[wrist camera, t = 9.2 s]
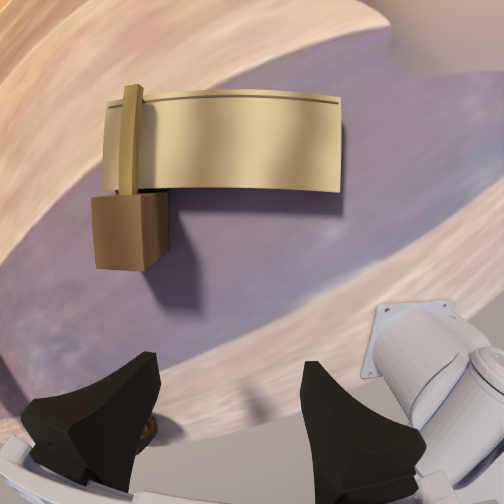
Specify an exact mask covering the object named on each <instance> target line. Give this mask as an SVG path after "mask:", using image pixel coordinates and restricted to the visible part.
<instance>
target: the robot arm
mask: <svg viewBox="0 0 504 504" xmlns="http://www.w3.org/2000/svg"><path fill="white" fill-rule="evenodd" d="M443 305H444V306H443ZM454 305H455V303H454V301H453V300H443V301H430V302H416V303H399V304H381V305H379V306H378V307H377V308H376V312H375V317H374V321H373V326H372V330H371V335H370V339H369V343H368V347H367V351H366V355H365V359H364V362H363V366H362V369H361V373H360V375H361V377H362V378H373V377H380V376H383V377H384V379H385V381H386V382H387V384H388V385H389V387H390V389H391V390H392V392H393V394H394V395H395V397H396V398H397V401H398V402H399V404H400V406H401V407H402V409H403V411H404V412H405V414H406V416H407V418H408V419H409V424H408V426H405V425H402V424H399V423H396V422H394V421H392V420H390V419H387V418H385V417H383V416H381V415H379V414H378V413H376V412H374V411H372V410H370V409H369V408H367V407H365V406H364V405H363V404H361V403H360V402H359V401H357V400H356V399H355V398H353V397H352V396H351V395H350V394H349V393H347V392H346V391H345V390H344V389H343V388H342V387H341V386H340V385H339V384H338V383H337V382H336V381H335V380H334V379H333V378H332V377H331V376H330V374H329V373H328V372H327V371H326V370H325V369H324V368H323V367H322V365H321V364H320V363H319V362H318V361H305V365H304V371H303V377H302V383H301V388H300V400H301V409H302V413H303V417H304V422H305V426H306V429H307V434H308V438H309V442H310V446H311V452H312V461H313V471H314V485H315V504H472V503H477V502H481V501H486V500H495V501H497V502H498V503H499V504H504V438H503V439H502V440H501V438H502V437H503V436H504V351H503V350H500V349H498V348H496V347H493V346H491V345H490V342H489V340H488V339H487V337H486V336H485V335H484V334H482V333H481V332H480V331H479V330H478V329H476V328H475V327H474V326H472V325H471V324H470V323H469V322H467V321H466V320H465V319H463V318H462V317H461V316H459V315H458V314H457V313H455V312H454V311H453V309H454ZM387 308H388V310H387V311H386V312H385V309H387ZM369 373H370V374H369ZM160 387H161V380H160V375H159V369H158V363H157V357H156V353H153V352H146V351H144V352H143V353H141V354H140V355H138V356H137V357H136V358H134V359H133V360H131V361H130V362H129V363H127V364H126V365H124V366H123V367H121V368H120V369H118V370H117V371H115V372H114V373H112V374H110V375H109V376H107V377H105V378H104V379H102V380H100V381H98V382H96V383H94V384H92V385H90V386H87V387H85V388H82V389H79V390H76V391H74V392H71V393H67V394H63V395H59V396H54V397H48V398H39V399H33V400H32V402H31V403H30V404H29V405H28V406H27V407H26V409H25V410H24V411H23V412H22V413H21V421H22V423H23V425H24V427H25V429H26V430H27V432H28V433H29V435H30V436H31V438H32V439H33V441H34V442H35V446H34V447H33V448H32V447H31V446H30V445H29V444H28V443H26V442H25V441H23V440H21V439H20V438H18V437H16V436H15V435H12V436H11V437H10V438H9V440H8V441H7V442H6V444H5V445H4V446H3V448H2V449H1V450H0V476H1V477H2V478H3V479H4V480H5V482H7V484H8V485H9V486H10V487H12V488H13V489H14V490H15V491H16V492H17V493H18V494H19V495H21V496H22V497H24V498H25V499H27V500H28V501H30V502H31V503H33V504H229V503H223V502H214V501H205V500H197V499H190V498H184V497H177V496H172V495H167V494H162V493H157V492H151V491H140V492H135V493H134V495H132V494H129V493H128V490H129V483H130V478H131V473H132V467H133V463H134V459H135V455H136V451H137V447H138V444H139V441H140V437H141V435H142V432H143V430H144V428H145V425H146V423H147V421H148V419H149V416H150V414H151V412H152V410H153V408H154V405H155V403H156V401H157V398H158V394H159V391H160ZM500 440H501V441H500ZM499 441H500V443H499V444H498V445H497V446H496V447H495V448H494V446H495V445H496V444H497V443H498V442H499ZM493 448H494V449H493ZM492 449H493V450H492ZM491 450H492V451H491ZM490 451H491V452H490ZM489 452H490V454H488V453H489ZM487 454H488V455H487ZM486 455H487V456H486ZM485 456H486V457H485ZM484 457H485V458H484ZM483 458H484V459H483ZM482 459H483V460H482Z"/></svg>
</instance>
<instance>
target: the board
mask: <svg viewBox="0 0 504 504" xmlns="http://www.w3.org/2000/svg"><path fill="white" fill-rule="evenodd" d="M143 99H144V103H143V104H142V109H141V121H140V136H139V158H138V189H145V188H181V187H235V188H271V189H293V190H311V191H326V192H339V193H340V176H341V97H334V96H327V95H319V94H310V93H301V92H289V91H274V90H241V89H232V90H199V91H184V92H172V93H163V94H154V95H146V96H143ZM122 107H123V99H121V100H115V101H110V102H107V107H106V117H105V128H104V143H103V168H102V191H107V190H119V146H120V129H121V117H122Z"/></svg>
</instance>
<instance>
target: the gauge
mask: <svg viewBox="0 0 504 504" xmlns="http://www.w3.org/2000/svg"><path fill="white" fill-rule="evenodd" d="M143 89H144V88H143V87H142V86H140V85H139V84H134V85H128V86H125V89H124V97H123V107H122V117H121V129H120V146H119V194H118V195H110V196H102V197H94V198H91V207H92V227H93V241H94V252H95V261H96V269H109V270H126V271H145V270H146V269H148V268H149V267H150V266H151V265H152V264H154V263H155V262H156V261H157V260H158V259H159V258H161V257H162V256H163V255H164V254H165V253H167V252H168V251H169V221H168V192H152V193H138V158H139V136H140V121H141V109H142V104H143V103H144V99H143Z"/></svg>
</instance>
